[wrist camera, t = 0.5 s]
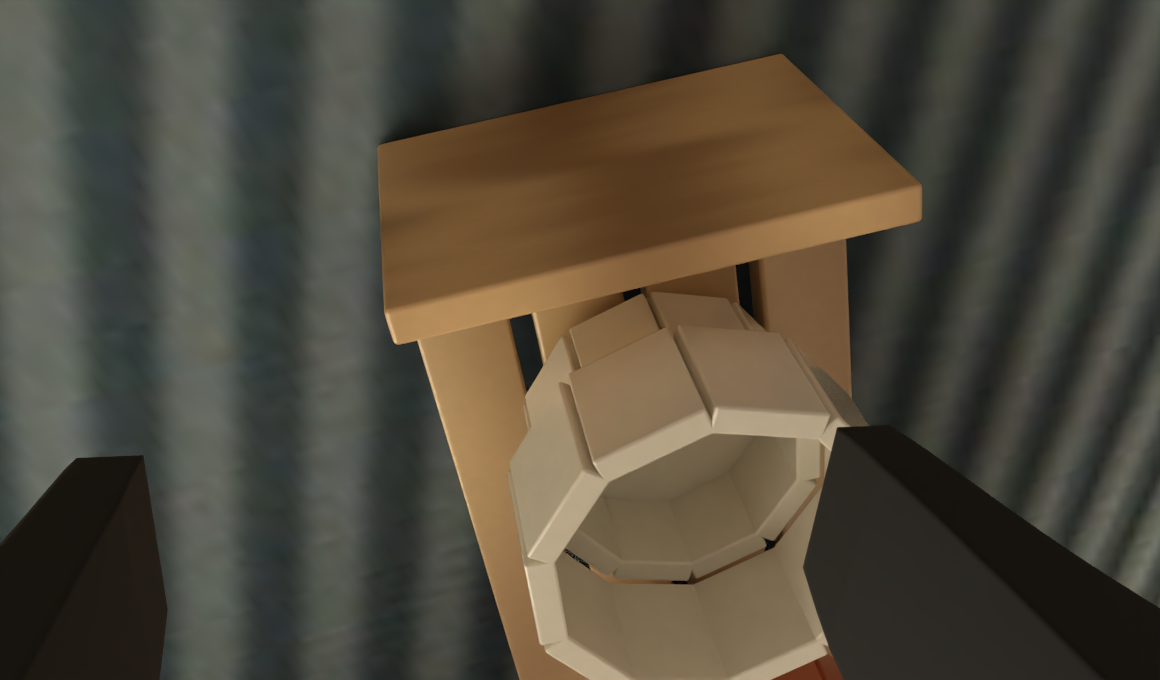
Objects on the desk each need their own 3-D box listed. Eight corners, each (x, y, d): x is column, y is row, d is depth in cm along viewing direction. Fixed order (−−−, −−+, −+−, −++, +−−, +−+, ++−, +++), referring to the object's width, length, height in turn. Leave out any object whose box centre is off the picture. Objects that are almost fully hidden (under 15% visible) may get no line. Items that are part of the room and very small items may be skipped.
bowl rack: (543, 719, 29) (583, 944, 24) (375, 143, 20) (382, 311, 15) (822, 647, 29) (919, 854, 24) (782, 51, 20) (924, 183, 15)
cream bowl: (759, 521, 22) (842, 699, 18) (469, 510, 21) (494, 700, 17) (848, 273, 19) (968, 423, 16) (519, 239, 18) (563, 396, 14)
